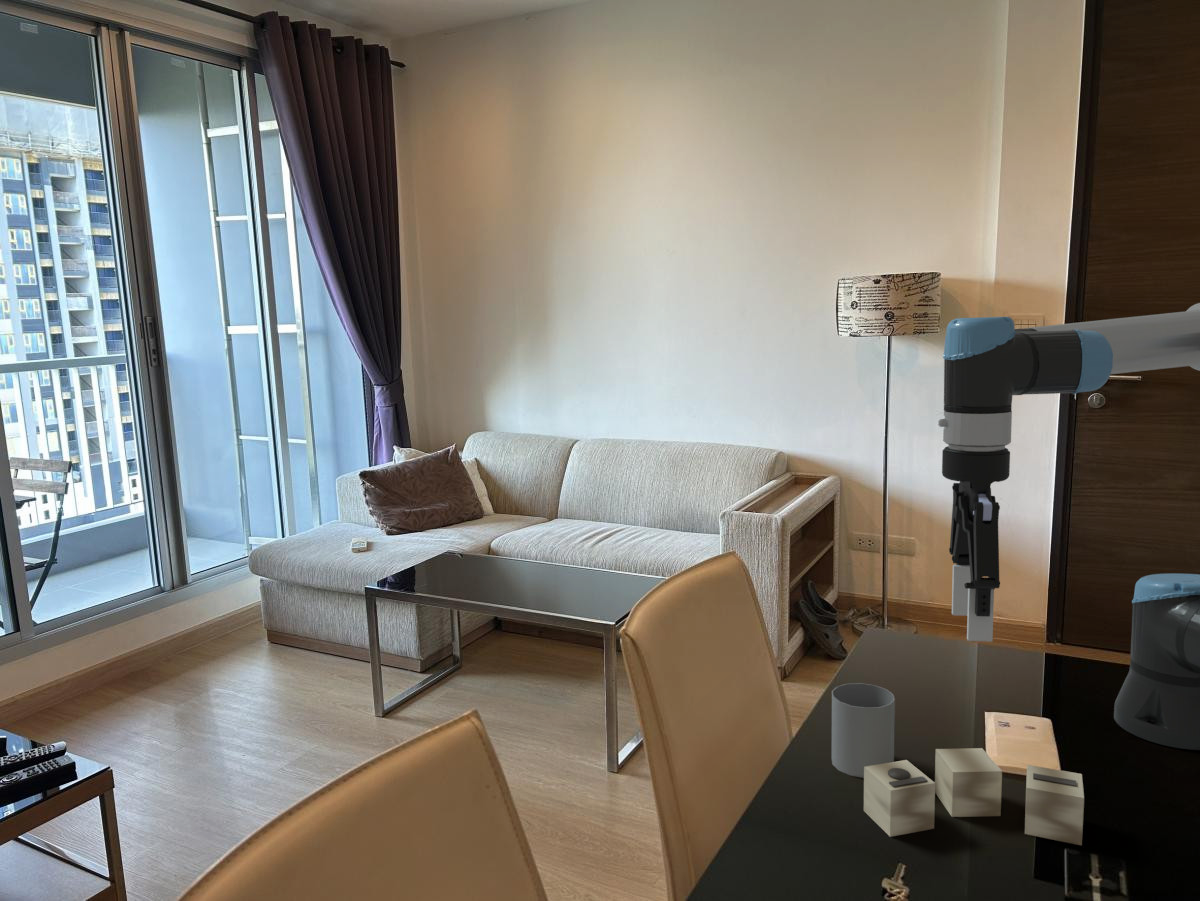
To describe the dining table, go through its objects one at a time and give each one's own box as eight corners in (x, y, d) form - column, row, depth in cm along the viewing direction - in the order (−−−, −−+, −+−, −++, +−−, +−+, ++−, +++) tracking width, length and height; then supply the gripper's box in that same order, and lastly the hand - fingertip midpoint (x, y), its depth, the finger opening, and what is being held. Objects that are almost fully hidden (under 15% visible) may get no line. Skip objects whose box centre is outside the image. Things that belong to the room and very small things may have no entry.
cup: (896, 780, 118) (897, 709, 117) (833, 775, 120) (834, 706, 119) (889, 750, 127) (890, 684, 125) (830, 747, 128) (830, 681, 127)
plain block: (980, 791, 115) (982, 748, 114) (1000, 816, 109) (1002, 771, 108) (934, 792, 115) (935, 749, 114) (951, 817, 109) (952, 772, 109)
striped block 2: (1079, 819, 108) (1081, 772, 107) (1081, 846, 103) (1084, 796, 102) (1025, 809, 111) (1027, 763, 110) (1024, 834, 105) (1026, 786, 104)
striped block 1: (905, 803, 113) (906, 758, 112) (934, 829, 107) (935, 781, 106) (863, 811, 111) (864, 765, 110) (890, 837, 106) (890, 789, 105)
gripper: (928, 435, 117) (925, 599, 120) (961, 459, 96) (956, 657, 99) (988, 435, 116) (983, 601, 119) (1034, 459, 95) (1027, 660, 98)
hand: (971, 626), depth 109 cm, fingers open, 9 cm apart
